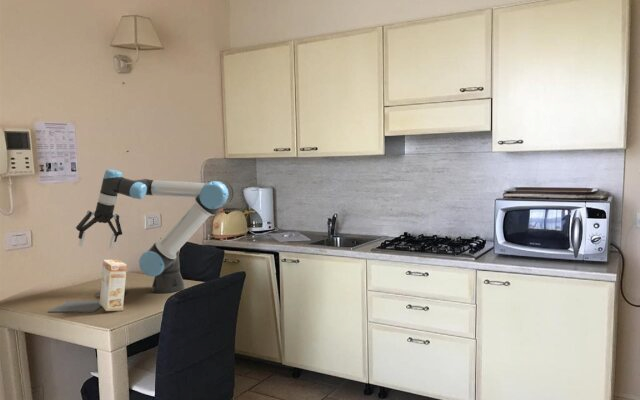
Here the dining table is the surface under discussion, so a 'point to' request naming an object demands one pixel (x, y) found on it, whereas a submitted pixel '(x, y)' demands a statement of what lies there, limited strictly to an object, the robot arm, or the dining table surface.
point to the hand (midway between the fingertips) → (95, 247)
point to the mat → (77, 307)
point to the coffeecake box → (113, 285)
